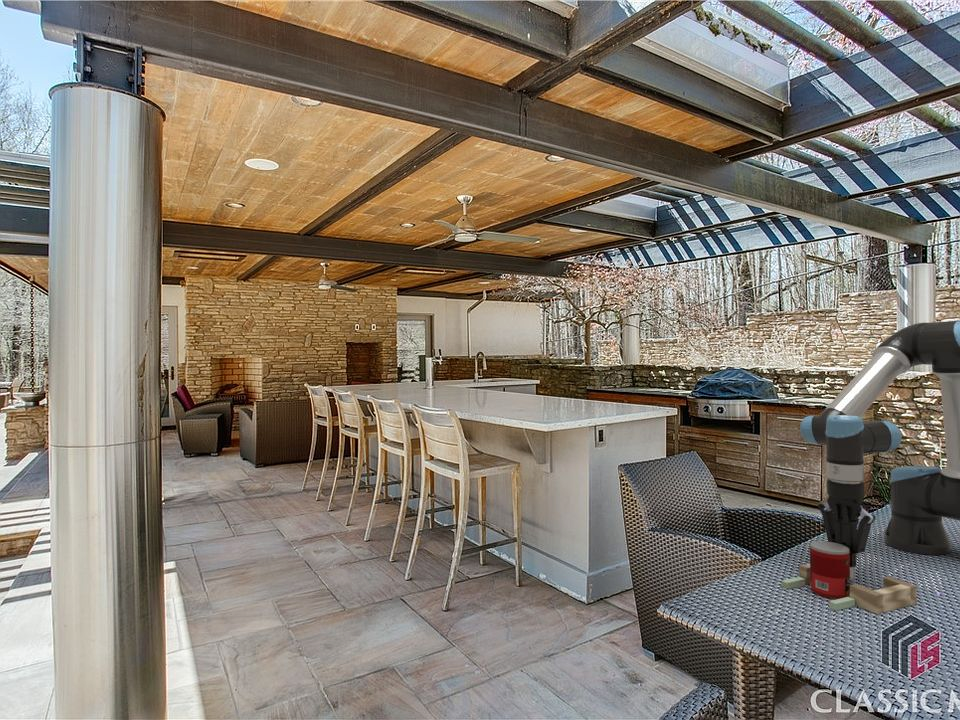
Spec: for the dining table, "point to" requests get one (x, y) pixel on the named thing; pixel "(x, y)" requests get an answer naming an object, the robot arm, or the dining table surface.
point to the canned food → (830, 569)
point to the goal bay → (833, 604)
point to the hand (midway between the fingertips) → (846, 578)
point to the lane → (877, 593)
